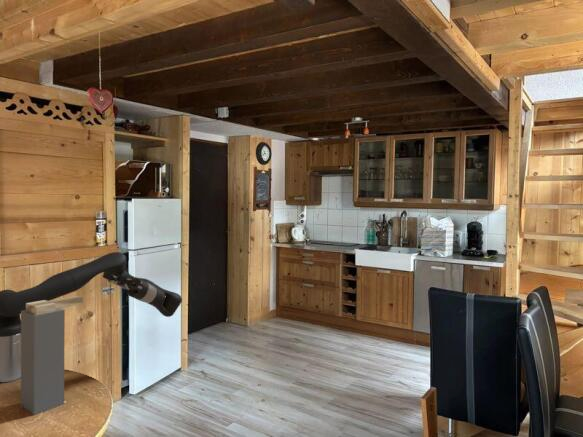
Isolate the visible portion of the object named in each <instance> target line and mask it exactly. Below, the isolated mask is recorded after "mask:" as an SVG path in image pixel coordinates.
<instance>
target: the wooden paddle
mask: <svg viewBox="0 0 583 437" xmlns="http://www.w3.org/2000/svg"><path fill="white" fill-rule="evenodd" d="M83 304H84V297H83V296H81V295H76V296H75V295H74V296H69V297H65V298H64V297H63V298H55V299H53V300H50V301H46V300H42V301H36V302H31V303H26V311H27V312H30V313H33V314H35V315H38V314H43V313H48V312H53V311H55V309H64V308H70V307H75V306H79V305H83Z"/></svg>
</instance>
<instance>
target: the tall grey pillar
mask: <svg viewBox="0 0 583 437" xmlns="http://www.w3.org/2000/svg"><path fill="white" fill-rule="evenodd" d="M65 315H66V314H65V309H64V308H60V309H55V311H53V312H48V313H43V314H38V315H35V314H33V313H30V312H27V311H26V310H23V311H21V314H20V319H21V378H20V407H21V408H24V409H25V410H26V411H28V412H30V413H31V414H32V415H34V416H35V415H38V414H41V413H43V412H47V411H49V410H51V409H54V408H57V407H59V406H62V405H64V404H65V331H66V330H65V325H66V324H65V323H66V322H65V321H66V319H65V318H66V317H65Z"/></svg>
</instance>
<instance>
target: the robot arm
mask: <svg viewBox="0 0 583 437" xmlns="http://www.w3.org/2000/svg"><path fill="white" fill-rule="evenodd" d="M126 265H127V257H126V255H125V253H123V252H120V251H113V252H109V253H107V254H104V255H102V256H100V257H98V258H96V259H94V260H91V261H89V262H87V263H84V264H81V265H78V266H76V267H74V268H70V269H67V270H64V271H61V272H58V273H56V274H54V275H51V276H50V277H47V279H45V280H44V281H42V282H40V283H38V285H35V286H33V287H31V288H26V289H24V290H18V291H15V290H12V289H3V290H0V383H9V382H13V381H16V380H18V379H21V311H23V310H26V303H31V302H36V301H42V300H46V301H51V300H56V299H59V298H60V297H63V296H66V295H69V294H71V293H74V292H76V291H79V290H80V289H81V288H83V287H84V286H85V285H87V284H88V283H89V282H90V281H91V280H93V279H94V278H95V277H97V276H99V274H102V273H103V274H102V278H103V279H105V280H107V281H108V282H109V283H112V284H114V285H115V286H117V287H120V288H122V289H124V290H126V293H127V295H128V296H129V297H131V298H133V299H136V300H137V301H140V302H142V303H146V304H148V305H150V306H153V307H154V308H155V309H156V310H158V312H160V314H161V315H162V316H164V317H167V318H170V317H172V316H173V315H174V314H175V313H176V311H177V309H178V308H179V307H180V305H181V303H182V302H183V298H182V296H181V295H180V294H179V293H177V292H175V291H170V290H167V289H164V288H162V287H161V286H159V285H157V284H156V283H155V282H153V281H152V280H149V279H147V278H142V277H136V276H134V275H131V273H129V272H128V271H127V270H126V267H127V266H126Z"/></svg>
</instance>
